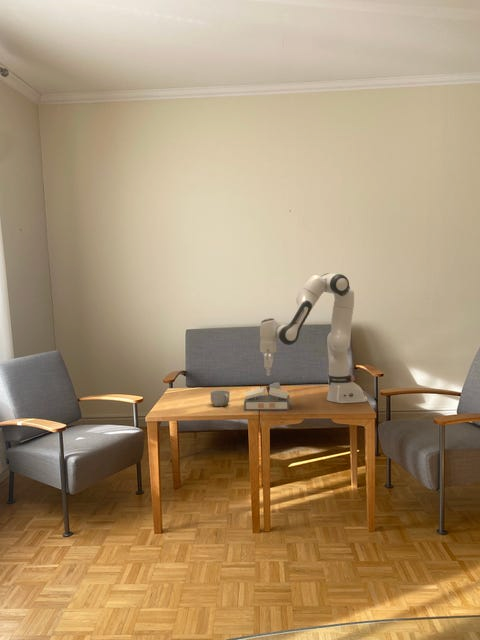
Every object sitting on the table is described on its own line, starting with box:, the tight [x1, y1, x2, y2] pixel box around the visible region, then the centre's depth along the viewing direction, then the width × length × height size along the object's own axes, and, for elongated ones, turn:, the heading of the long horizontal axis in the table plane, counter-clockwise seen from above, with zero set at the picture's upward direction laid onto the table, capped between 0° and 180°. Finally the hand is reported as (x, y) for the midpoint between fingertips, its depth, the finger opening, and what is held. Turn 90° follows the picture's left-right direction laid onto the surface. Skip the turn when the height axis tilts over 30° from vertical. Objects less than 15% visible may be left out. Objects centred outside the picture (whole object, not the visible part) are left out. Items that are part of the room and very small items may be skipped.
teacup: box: [209, 389, 230, 407], centre depth 307 cm, size 14×11×8 cm
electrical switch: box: [265, 381, 282, 395], centre depth 320 cm, size 9×5×9 cm, turn 141°
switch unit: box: [243, 394, 291, 412], centre depth 300 cm, size 24×14×7 cm, turn 84°
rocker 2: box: [269, 387, 289, 399], centre depth 299 cm, size 10×11×2 cm
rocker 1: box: [245, 387, 266, 399], centre depth 301 cm, size 10×11×2 cm
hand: (268, 373), depth 299 cm, fingers open, 8 cm apart
